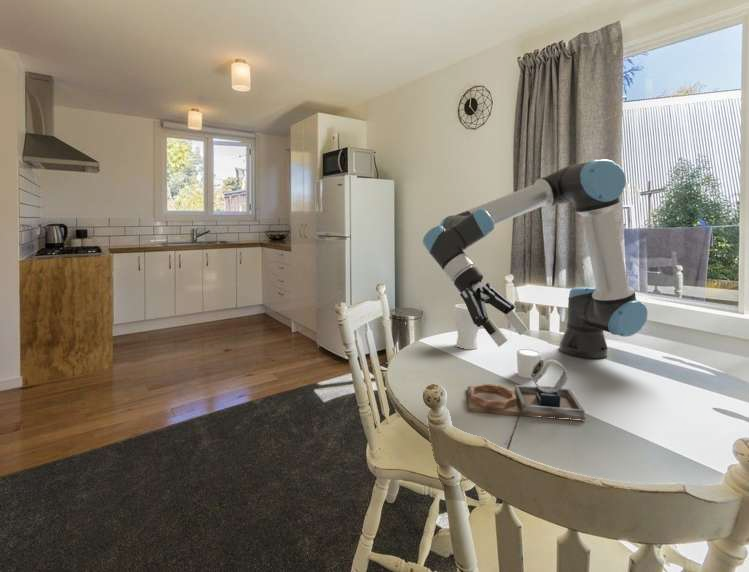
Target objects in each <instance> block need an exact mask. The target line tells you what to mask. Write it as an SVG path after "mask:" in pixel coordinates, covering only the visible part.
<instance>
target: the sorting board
mask: <svg viewBox="0 0 749 572" xmlns="http://www.w3.org/2000/svg"><path fill="white" fill-rule="evenodd" d="M557 392H558V393H559V395H560V396H561V398H560V407H549V406H540V405H539V403H538V401H537V399H536V385H535V386H532V385H531V386H530V385H522V384H521V385H520V384H519V385H518V384H515V385H514V389H510V388H509V387H505V386H504V385H500V384H488V383H481V384H477V385H474V386H470V385H469V386H467V400H468V411H469V412H474V413H483V414H495V415H508V416H516V415H519V416H520V415H521V416H520V417H527V416H541V417H553V418H554V417H555V418H569V419H570V418H571V419H581V420H585V421H586V417H585V412H586V411H585V409H584V408H583V406H582V405H581V404H580V402H579V401H578V399H577V398H576V396H575V395H574V394H573V392H572V391H571V388H561V389H560V390H559V391H557ZM519 416H518V417H519Z"/></svg>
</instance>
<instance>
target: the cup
mask: <svg viewBox="0 0 749 572" xmlns="http://www.w3.org/2000/svg"><path fill="white" fill-rule="evenodd" d="M452 313H453V315H452V317H453V322H454V325H455V327H456V330H457V331H456V332H457V337H456V343H455V346H456V347H457V348H458V347H460V348H459V349H461V348H464V349H463V350H476V349H478V347H479V345H478V333H479V330H480V328H481V327H482V325H481V326H480V327H478V326H477V325H476V324H474V322H473V320H472V318H471V316H470V313H469V311H468V309H467V306H466V304H465V303H459V304H458V303H457V304H455V305H454V309H453V312H452ZM476 318H477V317H476Z"/></svg>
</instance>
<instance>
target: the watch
mask: <svg viewBox="0 0 749 572" xmlns="http://www.w3.org/2000/svg"><path fill="white" fill-rule="evenodd" d="M551 364H556V365H559V366H560V367H561V368H562V374H561V376H560V378H559V379H558V380H557V382H556V383H555V384H554V386H543V385H539V384H538V381H539V379H541V378H542V377H544V375H545V374H546V372H547V370H548V367H550V366H551ZM531 376H532V378H531V379H532V381H533V383H534V385H535V387H536V399H537V401H538V403H539V405H540V406H549V407H560V398H561V396H560V395H559V393H558V392H557V391H559V390H560V389H563V387H564V385H566V382H567V380H568V371H567V369H566V368H565V367H564V365H563V364H562V363H561V362H560V361H559V360H556V359H554V358H544V359H540V361H539V362H538V363H537V364H536V365H535V366H534V368H533V370H532V373H531Z"/></svg>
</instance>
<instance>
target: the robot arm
mask: <svg viewBox="0 0 749 572" xmlns="http://www.w3.org/2000/svg"><path fill="white" fill-rule="evenodd" d="M626 181H627V179H626V175H625V172H624V170H623V168H622V167H621V166H620V165H619V164H618V163H617V162H614V161H613V160H610V159H594V160H589V161H585V162H581V163H576V164H571V165H567V166H565V167H562V168H561V169H558V170H557V171H554V172H552V173H550V174H548V175H546V176H543V177H540V178H538V179H537V180H535V182H534V184H532V185H529V186H527V187H524V188H521V189H519V190H517V191H514V192H511V193H508V194H506V195H503V196H501V197H499V198H496V199H492V200H491V201H487V202H486V203H483V204H481V205H477V206H476V207H473V208H470V209H468V210H466V211H463V212H460V213H457V214H455V215H454V214H453V215H448V216H446V217H444V218H443V219H442V220H441V221H440V224H439V225H437V226H434V227H432V228H431V229H430V230H428V231H427V232H426V233H425V234H424V236H423V239H422V244H423V246H424V247H425V249H426V250H427V251H428V253H429V255H430V256H431V257H432V258H433V259H434V261H436V263H437V264H438V265H439V266H440V268H441V269H442V271H443V272H444V273H445V275H446V277H447V278H449V280H450V281H452V282H453V284H454V286H455V287H456V288H457V290H458V292H460V297H461V298H462V299H463V301H464V304H466V306H467V309H468V311H469V313H470V316H471V318H472V320H473V322H474V324H476V325H477V326H478V327H480V326H481V327H483V329H484V330H485V331H486V332H487V334H488V335H489V337H490V338H491V340H493V342H494V343H495V344H496V345H497V347H498V348H500V347H501V346H502V345H504V344H505V343H506V342H507V341H508V340H509V339H508V338H507V337H506V336H505V334H504V333H503V332H502V330H501V329H500V328H499V326H498V325H497V324H496V323H495V322H494V321H493V319H492V318H490V319H489V316H488V312H487V309H486V305H485V304H489V305H491V306H492V307H493V308H496V309H497V310H498V311H500V312H501V313H503V314H504V318H505V319H506V320H507V321H508V322H509V323H510V325H511V326H512V327H513V329H515V331H516V332H517V334H518V335H519V336H521V335H523V334H524V333H526V331H528V330H529V328H528V327H527V325H526V324H525V322H524V321H522V319H521V318H520V317H519V315H518V314H517V313H516V312H515V310H514V309H516V306H515V304H513V302H511V301H510V300H509V299H507V298H506V296H504V295H503V294H501V293H500V292H499V291H498V290H497V289H496V288H495V287H494V286H493V285H492V284H491V283H490V282H487V283H486V284H484V283H483V282H482V281H483V279H484V274H482V273H481V271H480V270H479V269H478V268H477V266H475V264H474V262H473V261H472V260H471V259H470V257H469V256H468V255H467V254H466V253H465V252H464V251H465V250H466V249H468V248H469V247H471V246H472V245H474V244H475V243H477V242H479V241H480V240H482V239H484V238H485V237H487V236H488V235H489V234H491V233H492V232H493V231H494V230H495V226H497V225H498V224H501V223H504V222H507V221H509V220H511V219H514V218H517V217H519V216H521V215H525V214H527V213H530V212H532V211H534V210H537V209H540V208H541V207H543V208H546V209H548V208H550V207H553V206H557V205H563V204H573V205H574V210H575V213H576V214H578V215H580V216H581V217H582V221H583V226H584V231H585V236H586V237H585V238H586V242H587V247H588V248H587V249H588V252H589V258H590V264H591V269H592V276H593V279H594V285H595V287H593V286H589V287H587V286H584V287H583V286H579V287H572V288H571V289H570V291H569V295H568V306H567V317H566V318H567V319H566V328H565V330H564V333H563V335H562V338H561V340H560V341H559V348H558V349H559V351H561V353H564V354H567V355H569V356H572V357H576V358H577V357H578V358H584V359H603V358H606V357H607V356H608V353H609V352H608V351H609V348H608V345H607V340H606V337H605V332H608V333H610V334H611V335H613V336H614V335H615V336H620V337H623V338H625V337H627V338H628V337H632V336H633V335H636V334H637V333H638V332H640V331H641V330H642V328H643V327H644V326H645V325H646V322H647V319H648V315H649V314H648V309H647V307H646V305H645V304H644V303H642V302H641V301H639V300H637V297H636V292H635V291H636V290H635V288H634V287H632V286H630V285H628V279H627V274H626V268H625V261H624V256H623V251H622V245H621V239H620V234H619V227H618V220H617V215H616V208H617V207H618V205H619V204H620V198H619V197H620V196H622V194H623V193H624V189H625V187H626ZM476 317H477V318H476ZM481 327H480V328H481Z"/></svg>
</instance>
